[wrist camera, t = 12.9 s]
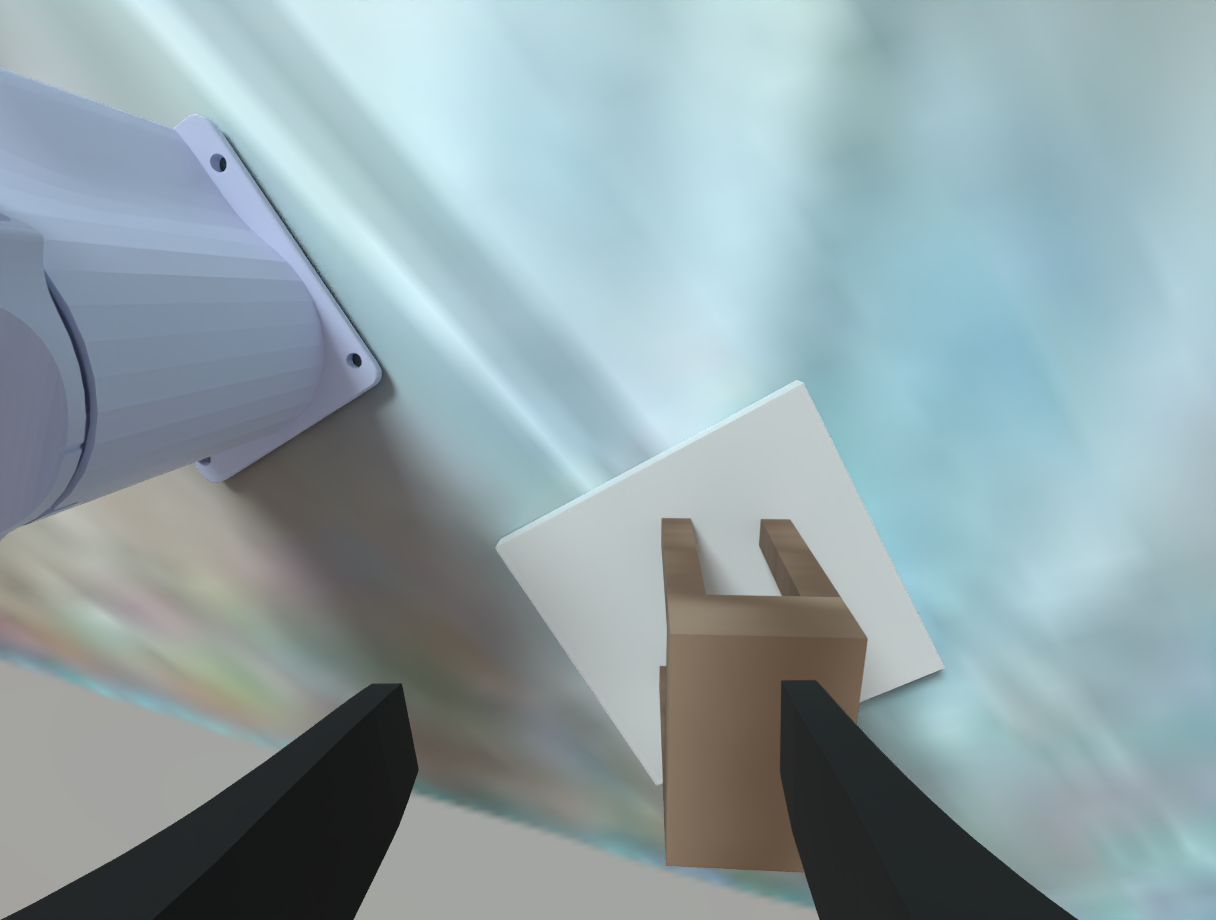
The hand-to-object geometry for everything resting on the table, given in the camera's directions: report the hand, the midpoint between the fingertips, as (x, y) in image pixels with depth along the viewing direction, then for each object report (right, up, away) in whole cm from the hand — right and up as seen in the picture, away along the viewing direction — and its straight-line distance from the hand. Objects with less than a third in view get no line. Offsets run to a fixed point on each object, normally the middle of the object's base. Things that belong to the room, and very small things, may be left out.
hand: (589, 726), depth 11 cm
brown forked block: (+4, 0, +10) cm, 11 cm away
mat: (+4, 0, +11) cm, 12 cm away
